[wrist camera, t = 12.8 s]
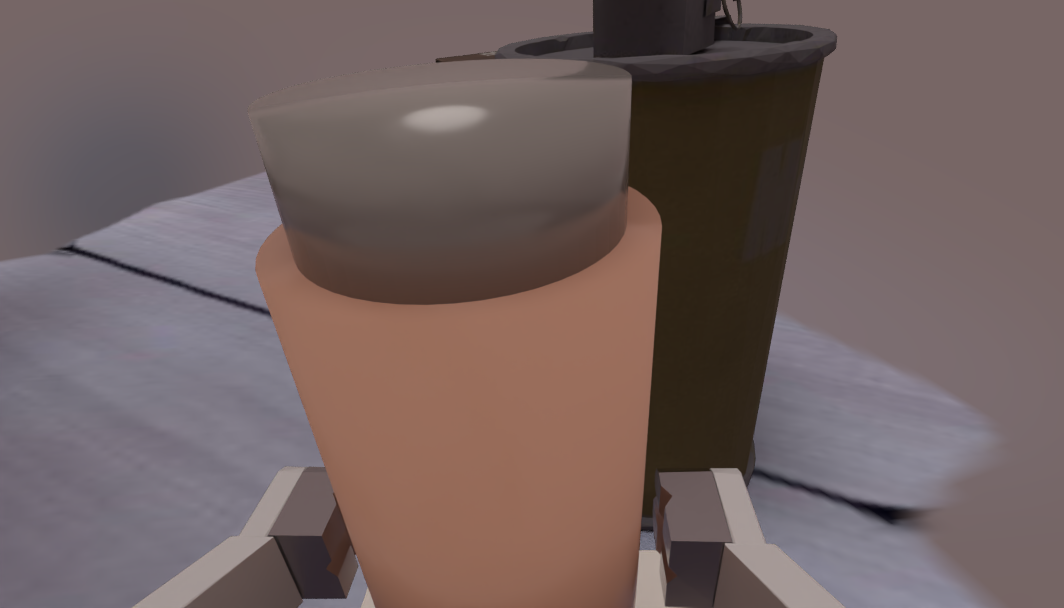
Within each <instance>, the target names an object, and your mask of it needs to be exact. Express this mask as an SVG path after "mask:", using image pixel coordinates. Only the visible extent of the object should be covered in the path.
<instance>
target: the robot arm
mask: <svg viewBox="0 0 1064 608" xmlns="http://www.w3.org/2000/svg"><path fill="white" fill-rule="evenodd" d="M654 483H655V490H656V497H655V498H654V499H653V530H654V539H655V546H656V550H657V552H658V553H659V554H660V569H659V573H660V580H661V586H662V592H663V599H664V605H665V607H684V608H845V607H844V606H843V605H842V604H841V603H840V602H839V601H838V600H837V599H835V598H834V597H833V596H832V595H831V594H830V593H829V592H828V591H827V590H825V589H824V588H823V587H822V586H821V585H820V584H819V583H818V582H817V581H815V580H814V579H813V578H812V577H811V576H810V575H809V574H808V573H806V572H805V571H804V570H803V569H802V568H801V567H800V566H799V565H798V564H796V563H795V562H794V561H793V560H792V559H791V558H790V557H789V556H788V555H786V554H785V553H784V552H783V551H782V550H781V549H780V548H779V547H778V546H776V545H775V544H766V541H765V539H764V536H763V533H762V530H761V527H760V525H759V522H758V519H757V516H756V513H755V510H754V508H753V505H752V502H751V499H750V496H749V494H748V491H747V488H746V485H745V482H744V479H743V477H742V474H741V472H740V471H739V470H738V469H737V468H710V469H708V468H664V469H656V472H655V481H654ZM355 555H356V552H355V549H354V547H353V544H352V541H351V538H350V535H349V533H348V530H347V527H346V524H345V521H344V519H343V516H342V513H341V510H340V507H339V505H338V502H337V499H336V496H335V493H334V491H333V488H332V485H331V482H330V479H329V477H328V474H327V471H326V468H325V467H284V468H282V469H281V470H280V471H279V472H278V473H277V474H276V476H275V477H274V479H273V481H272V482H271V484H270V485H269V487H268V489H267V490H266V492H265V494H264V495H263V497H262V499H261V500H260V502H259V503H258V505H257V507H256V508H255V510H254V512H253V513H252V515H251V517H250V518H249V520H248V521H247V523H246V525H245V526H244V528H243V530H242V531H241V533H240V535H239V536H231V537H229V538H228V539H227V540H225V541H224V542H222V543H221V544H220V545H218V546H217V547H215V548H214V549H213V550H211V551H210V552H208V553H207V554H206V555H204V556H203V557H201V558H200V559H199V560H197V561H196V562H195V563H193V564H192V565H190V566H189V567H188V568H186V569H185V570H183V571H182V572H181V573H179V574H178V575H176V576H175V577H174V578H172V579H171V580H169V581H168V582H167V583H165V584H164V585H163V586H161V587H160V588H158V589H157V590H156V591H154V592H153V593H151V594H150V595H149V596H147V597H146V598H144V599H143V600H142V601H140V602H139V603H137V604H136V605H135V606H133V607H132V608H297V607H298V606H299V605H300V604H301V603H302V602H303V600H302V599H346V598H347V595H348V593H349V590H350V587H351V584H352V582H353V579H354V576H355V574H356V571H357V568H358V564H357V561H356V558H355Z"/></svg>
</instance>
